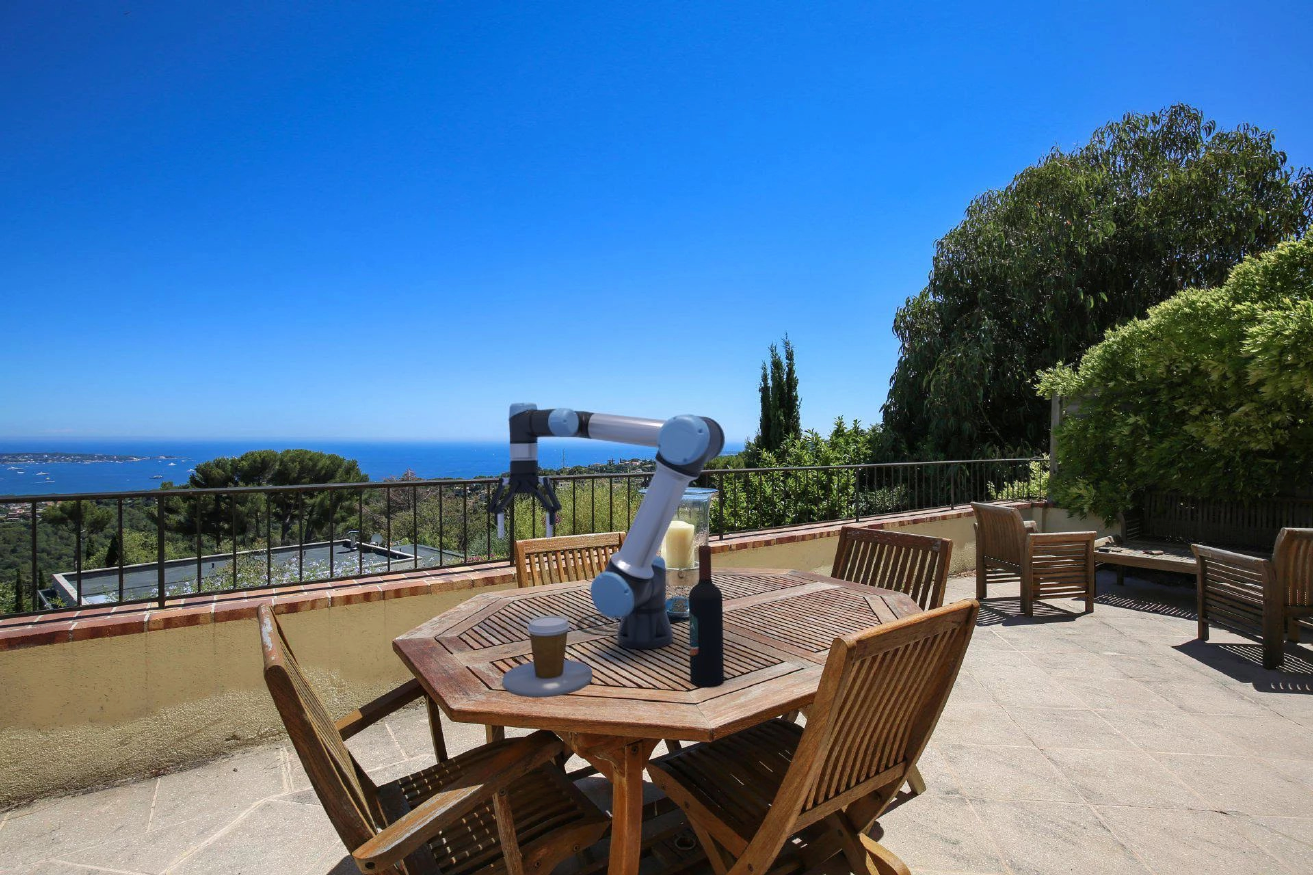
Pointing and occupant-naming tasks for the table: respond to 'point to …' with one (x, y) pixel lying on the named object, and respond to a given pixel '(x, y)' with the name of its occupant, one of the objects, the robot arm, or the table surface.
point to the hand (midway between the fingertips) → (525, 537)
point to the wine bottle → (706, 627)
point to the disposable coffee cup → (548, 645)
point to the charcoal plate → (547, 680)
